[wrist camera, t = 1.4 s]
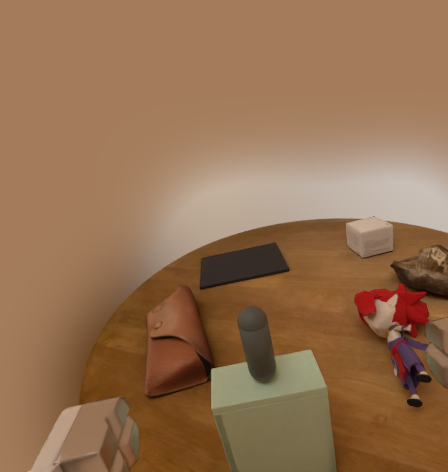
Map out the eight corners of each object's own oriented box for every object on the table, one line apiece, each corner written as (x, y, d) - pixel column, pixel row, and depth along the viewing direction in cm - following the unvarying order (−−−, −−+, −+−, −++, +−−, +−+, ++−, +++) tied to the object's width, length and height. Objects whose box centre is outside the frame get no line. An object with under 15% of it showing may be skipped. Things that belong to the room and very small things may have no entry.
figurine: (371, 411, 27) (342, 309, 40) (478, 429, 26) (411, 316, 39) (387, 356, 24) (351, 266, 38) (507, 372, 23) (425, 273, 37)
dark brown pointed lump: (375, 271, 44) (449, 312, 36) (398, 228, 42) (480, 262, 34) (401, 275, 48) (472, 313, 40) (422, 237, 46) (501, 268, 38)
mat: (200, 289, 54) (199, 287, 54) (202, 260, 65) (201, 258, 65) (289, 271, 54) (289, 268, 53) (275, 244, 65) (275, 242, 65)
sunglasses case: (142, 312, 50) (153, 276, 48) (184, 318, 52) (195, 284, 51) (143, 402, 33) (159, 350, 32) (204, 404, 36) (221, 357, 34)
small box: (375, 239, 58) (374, 215, 56) (394, 251, 52) (394, 224, 50) (346, 246, 57) (344, 222, 56) (362, 259, 52) (361, 232, 50)
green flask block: (337, 472, 24) (318, 313, 18) (236, 490, 24) (189, 339, 19) (321, 429, 27) (301, 283, 22) (233, 445, 28) (192, 305, 22)
